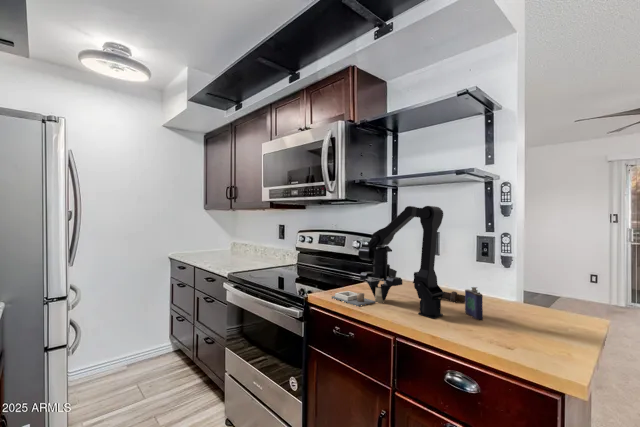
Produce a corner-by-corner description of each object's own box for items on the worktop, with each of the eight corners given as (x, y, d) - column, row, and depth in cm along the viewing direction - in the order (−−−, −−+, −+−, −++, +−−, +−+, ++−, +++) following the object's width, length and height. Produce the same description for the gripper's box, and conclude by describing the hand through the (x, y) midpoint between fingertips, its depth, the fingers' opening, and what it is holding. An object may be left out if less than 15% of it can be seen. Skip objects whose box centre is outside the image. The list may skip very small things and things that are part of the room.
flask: (463, 312, 117) (463, 284, 117) (471, 312, 117) (471, 284, 117) (477, 320, 108) (477, 289, 108) (485, 320, 108) (486, 289, 108)
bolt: (464, 308, 130) (428, 301, 139) (466, 300, 134) (431, 293, 143) (463, 297, 128) (426, 291, 137) (466, 290, 132) (430, 283, 141)
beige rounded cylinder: (386, 302, 130) (387, 288, 130) (380, 303, 127) (380, 289, 128) (379, 300, 133) (379, 286, 133) (373, 301, 130) (373, 287, 131)
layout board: (375, 303, 128) (375, 293, 128) (357, 306, 122) (358, 297, 122) (348, 295, 141) (348, 286, 141) (331, 298, 135) (331, 289, 135)
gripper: (410, 263, 128) (410, 301, 128) (376, 258, 143) (376, 292, 143) (393, 265, 121) (393, 305, 121) (359, 259, 136) (358, 295, 136)
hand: (380, 299), depth 130 cm, fingers closed on beige rounded cylinder, 4 cm apart
